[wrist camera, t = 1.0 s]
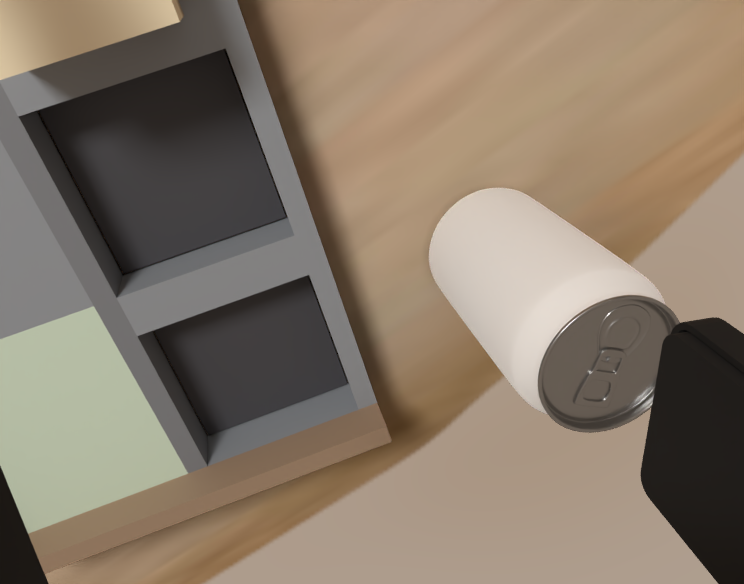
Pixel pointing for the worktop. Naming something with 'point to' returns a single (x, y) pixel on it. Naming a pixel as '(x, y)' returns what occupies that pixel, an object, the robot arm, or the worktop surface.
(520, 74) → the worktop surface
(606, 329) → the can
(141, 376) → the trap deck
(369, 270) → the worktop surface
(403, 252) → the worktop surface
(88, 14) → the block
